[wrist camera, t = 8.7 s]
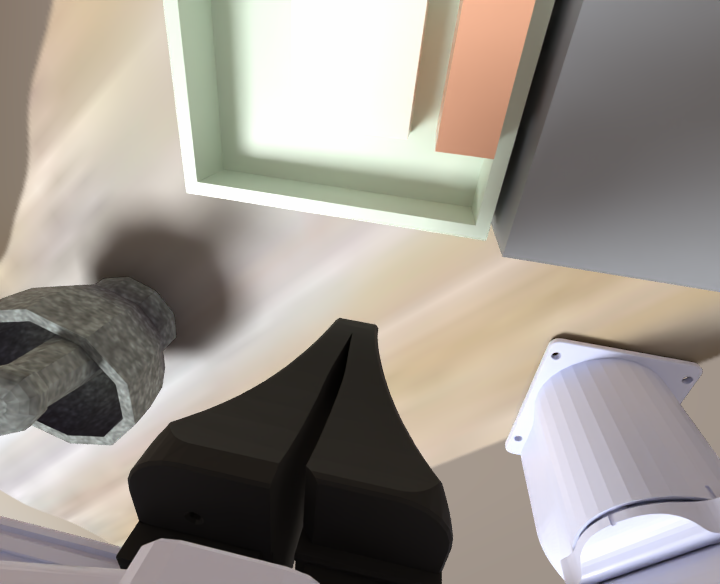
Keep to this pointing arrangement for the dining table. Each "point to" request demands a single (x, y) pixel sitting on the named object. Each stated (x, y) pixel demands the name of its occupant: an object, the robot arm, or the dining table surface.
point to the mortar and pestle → (82, 358)
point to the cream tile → (356, 64)
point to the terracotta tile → (481, 75)
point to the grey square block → (620, 144)
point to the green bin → (319, 146)
